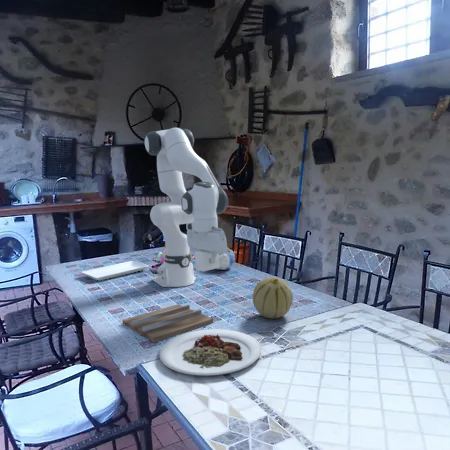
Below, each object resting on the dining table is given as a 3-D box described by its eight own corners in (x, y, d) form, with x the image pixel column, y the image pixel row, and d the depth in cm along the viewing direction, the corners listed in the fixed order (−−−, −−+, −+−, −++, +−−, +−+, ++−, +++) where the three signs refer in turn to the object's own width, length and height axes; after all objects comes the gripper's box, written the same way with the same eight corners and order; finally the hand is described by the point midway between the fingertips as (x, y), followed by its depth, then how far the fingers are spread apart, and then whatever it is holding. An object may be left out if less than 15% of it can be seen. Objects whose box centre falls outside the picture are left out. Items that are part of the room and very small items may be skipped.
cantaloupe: (270, 307, 164) (269, 269, 161) (301, 316, 153) (301, 276, 151) (244, 317, 153) (243, 277, 151) (275, 327, 143) (275, 285, 141)
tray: (150, 271, 227) (149, 264, 226) (96, 284, 205) (95, 277, 204) (132, 266, 239) (132, 260, 238) (80, 278, 217) (79, 271, 216)
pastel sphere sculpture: (200, 256, 258) (200, 241, 257) (182, 265, 237) (181, 249, 235) (165, 254, 268) (164, 240, 266) (144, 262, 246) (143, 247, 245)
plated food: (188, 393, 105) (188, 380, 104) (144, 350, 130) (143, 339, 129) (282, 360, 120) (282, 349, 120) (226, 327, 145) (226, 318, 145)
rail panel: (122, 324, 151) (122, 316, 151) (178, 307, 166) (178, 300, 166) (154, 342, 134) (153, 333, 134) (213, 322, 150) (212, 314, 149)
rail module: (195, 269, 159) (194, 251, 158) (213, 265, 164) (212, 247, 163) (203, 271, 156) (202, 253, 155) (220, 267, 161) (220, 249, 160)
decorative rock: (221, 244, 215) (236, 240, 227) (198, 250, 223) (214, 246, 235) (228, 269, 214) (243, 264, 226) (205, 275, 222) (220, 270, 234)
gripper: (230, 227, 152) (231, 264, 154) (196, 222, 167) (198, 256, 169) (217, 229, 148) (218, 267, 150) (183, 224, 163) (185, 259, 165)
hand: (207, 261), depth 159 cm, fingers closed on rail module, 4 cm apart
